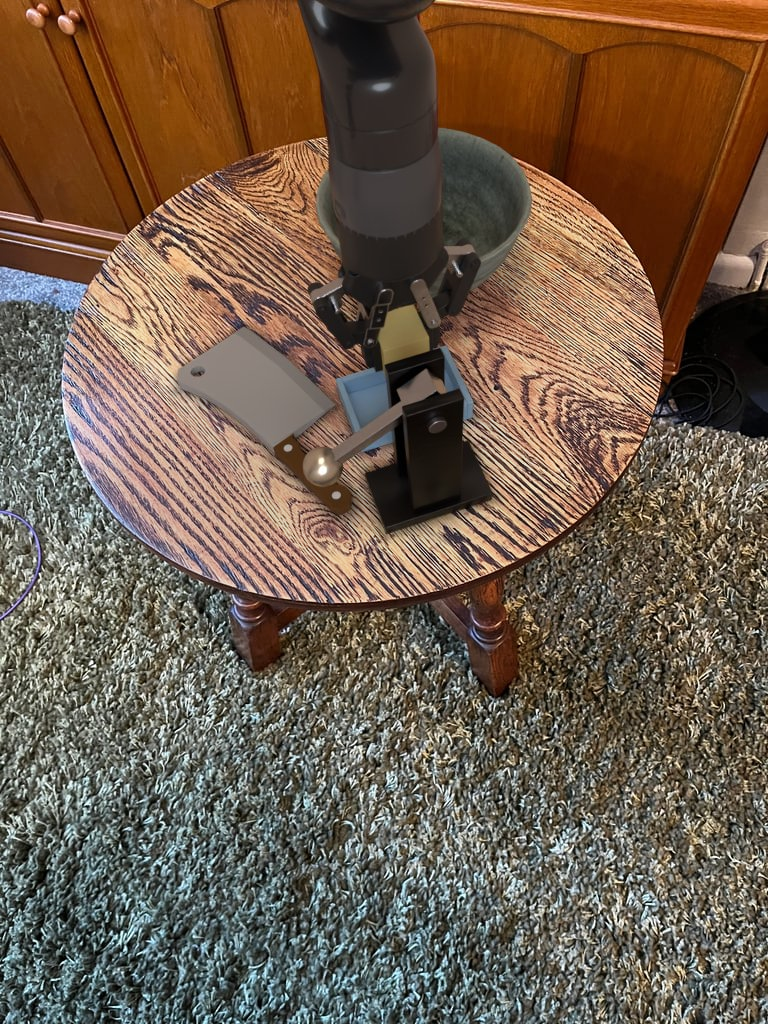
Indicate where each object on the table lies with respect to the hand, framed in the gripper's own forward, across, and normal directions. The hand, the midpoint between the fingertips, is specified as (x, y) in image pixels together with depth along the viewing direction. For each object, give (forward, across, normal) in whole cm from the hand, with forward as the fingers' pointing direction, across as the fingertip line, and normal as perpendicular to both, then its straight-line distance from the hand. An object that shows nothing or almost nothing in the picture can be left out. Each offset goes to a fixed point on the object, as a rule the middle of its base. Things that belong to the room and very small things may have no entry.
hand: (400, 356), depth 67 cm
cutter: (+7, +1, +10) cm, 12 cm away
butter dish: (+7, 0, 0) cm, 7 cm away
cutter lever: (-3, +5, +10) cm, 11 cm away
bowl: (+8, -8, -16) cm, 19 cm away
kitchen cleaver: (+7, +12, -3) cm, 14 cm away
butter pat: (0, 0, 0) cm, 0 cm away
